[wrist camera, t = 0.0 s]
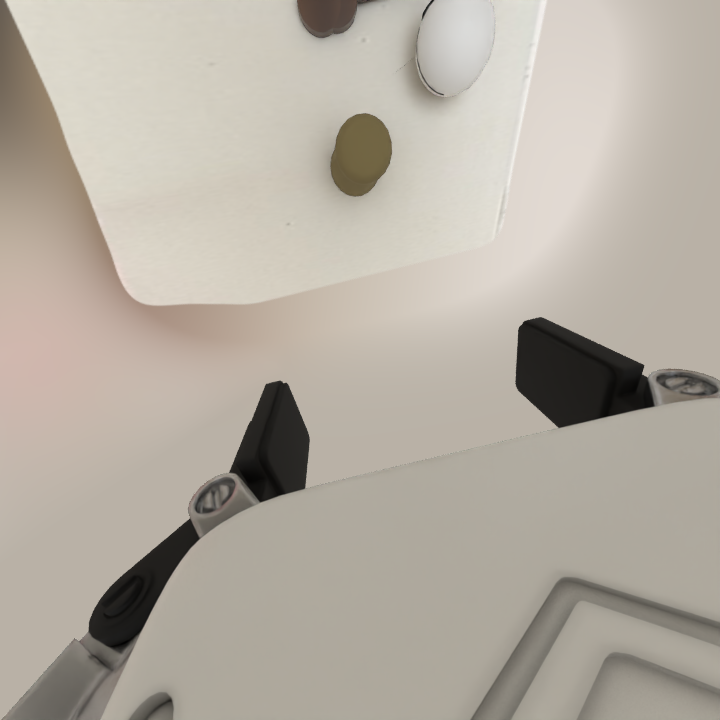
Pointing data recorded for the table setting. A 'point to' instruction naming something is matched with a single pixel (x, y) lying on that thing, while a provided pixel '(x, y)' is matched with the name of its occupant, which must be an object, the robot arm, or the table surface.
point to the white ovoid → (454, 44)
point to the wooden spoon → (327, 15)
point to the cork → (360, 154)
